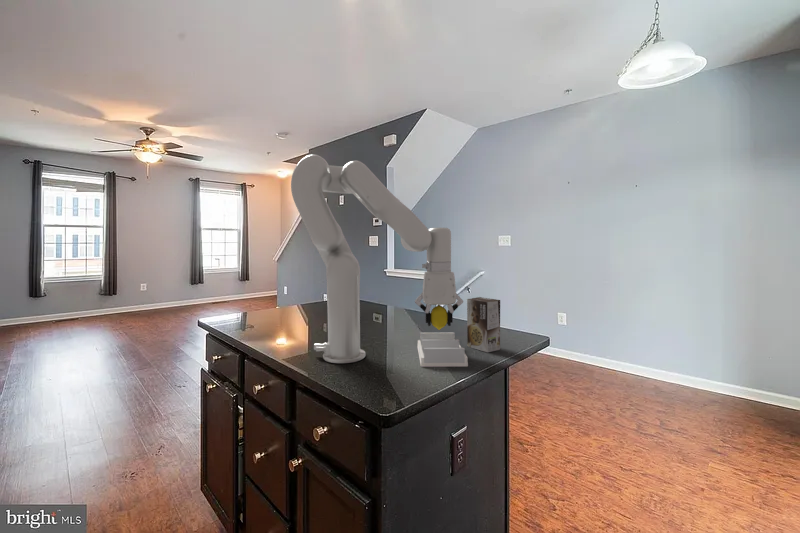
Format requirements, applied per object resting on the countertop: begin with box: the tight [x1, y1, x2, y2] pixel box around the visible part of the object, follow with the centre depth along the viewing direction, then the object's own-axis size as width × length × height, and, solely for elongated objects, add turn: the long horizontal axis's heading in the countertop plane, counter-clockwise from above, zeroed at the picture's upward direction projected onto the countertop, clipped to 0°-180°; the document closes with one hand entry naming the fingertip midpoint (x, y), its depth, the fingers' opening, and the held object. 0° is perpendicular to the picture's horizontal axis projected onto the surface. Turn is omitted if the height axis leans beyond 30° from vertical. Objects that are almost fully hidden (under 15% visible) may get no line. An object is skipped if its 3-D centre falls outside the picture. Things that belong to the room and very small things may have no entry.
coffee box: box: [466, 296, 501, 353], centre depth 117 cm, size 9×6×16 cm
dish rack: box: [416, 331, 469, 368], centre depth 109 cm, size 13×19×5 cm
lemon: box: [430, 305, 448, 331], centre depth 112 cm, size 6×6×8 cm
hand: (438, 324), depth 113 cm, fingers closed on lemon, 5 cm apart
